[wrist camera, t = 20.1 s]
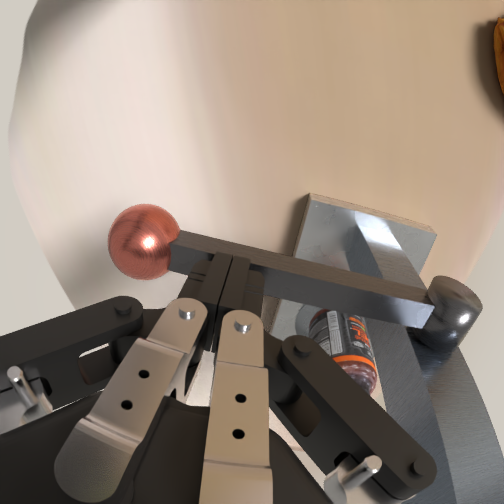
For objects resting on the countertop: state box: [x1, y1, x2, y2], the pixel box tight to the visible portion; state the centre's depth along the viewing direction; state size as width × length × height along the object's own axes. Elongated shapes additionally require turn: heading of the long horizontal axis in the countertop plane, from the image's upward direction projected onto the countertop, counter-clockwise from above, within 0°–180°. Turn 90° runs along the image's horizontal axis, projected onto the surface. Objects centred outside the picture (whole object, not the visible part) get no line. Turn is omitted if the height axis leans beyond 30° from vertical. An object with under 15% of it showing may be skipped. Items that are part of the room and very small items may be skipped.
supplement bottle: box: [309, 308, 377, 395], centre depth 27 cm, size 6×6×11 cm
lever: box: [108, 204, 482, 353], centre depth 14 cm, size 19×4×4 cm, turn 79°
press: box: [269, 193, 504, 504], centre depth 20 cm, size 13×18×28 cm
